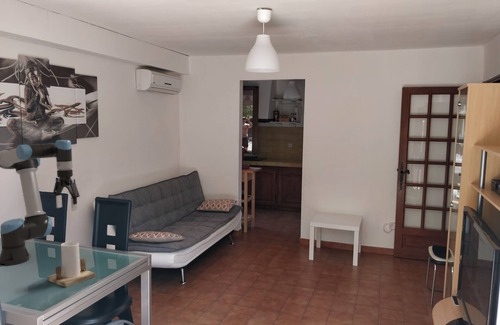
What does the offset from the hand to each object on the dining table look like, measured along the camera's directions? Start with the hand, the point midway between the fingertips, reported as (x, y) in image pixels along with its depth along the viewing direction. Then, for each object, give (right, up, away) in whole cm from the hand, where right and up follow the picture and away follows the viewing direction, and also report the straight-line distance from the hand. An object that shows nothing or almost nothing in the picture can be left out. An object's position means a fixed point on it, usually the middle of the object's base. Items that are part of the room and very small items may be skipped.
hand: (66, 208), depth 218 cm
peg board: (+7, -34, -11) cm, 36 cm away
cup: (+7, -32, -11) cm, 35 cm away
